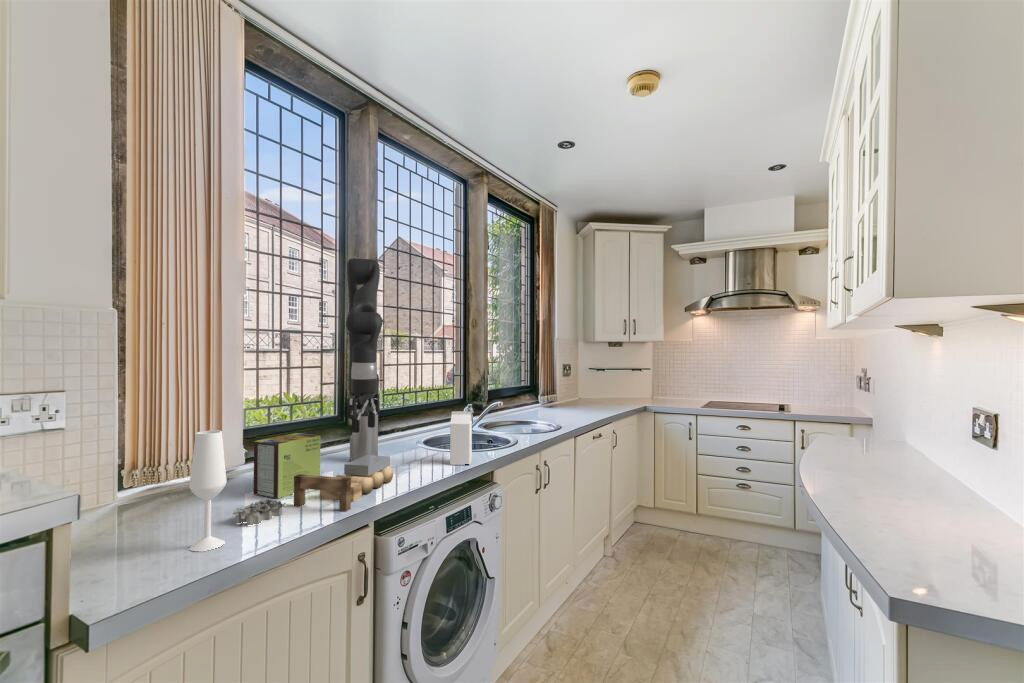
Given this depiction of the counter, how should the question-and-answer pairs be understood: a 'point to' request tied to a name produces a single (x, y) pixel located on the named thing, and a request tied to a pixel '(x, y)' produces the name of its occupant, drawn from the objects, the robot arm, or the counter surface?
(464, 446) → the milk carton
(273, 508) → the egg carton
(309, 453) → the protein box
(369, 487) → the roller bed
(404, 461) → the counter surface
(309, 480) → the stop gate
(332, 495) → the oak skid
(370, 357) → the robot arm
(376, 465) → the slab
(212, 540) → the champagne flute
